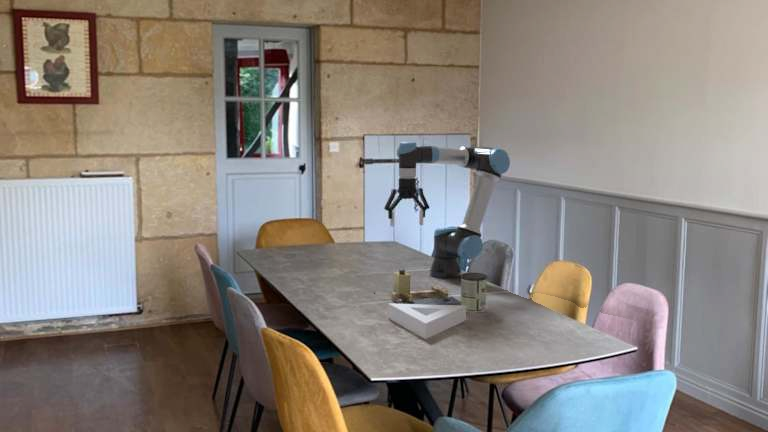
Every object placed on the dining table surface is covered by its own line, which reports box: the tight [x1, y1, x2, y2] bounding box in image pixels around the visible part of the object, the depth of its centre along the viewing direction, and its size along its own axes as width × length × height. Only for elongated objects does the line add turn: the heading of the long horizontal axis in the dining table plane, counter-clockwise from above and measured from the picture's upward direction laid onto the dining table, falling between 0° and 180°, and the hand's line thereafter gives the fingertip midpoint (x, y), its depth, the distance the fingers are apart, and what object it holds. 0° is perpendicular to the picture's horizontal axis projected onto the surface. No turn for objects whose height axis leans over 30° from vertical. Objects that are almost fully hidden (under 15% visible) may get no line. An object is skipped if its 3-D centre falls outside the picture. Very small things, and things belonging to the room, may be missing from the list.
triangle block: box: [387, 302, 467, 340], centre depth 295 cm, size 30×26×6 cm
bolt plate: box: [395, 295, 461, 305], centre depth 322 cm, size 25×10×2 cm, turn 107°
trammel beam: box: [390, 285, 449, 302], centre depth 328 cm, size 24×14×4 cm, turn 107°
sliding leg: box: [392, 268, 412, 302], centre depth 325 cm, size 5×15×11 cm, turn 18°
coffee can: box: [460, 272, 488, 314], centre depth 315 cm, size 10×10×14 cm
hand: (406, 225), depth 345 cm, fingers open, 13 cm apart
